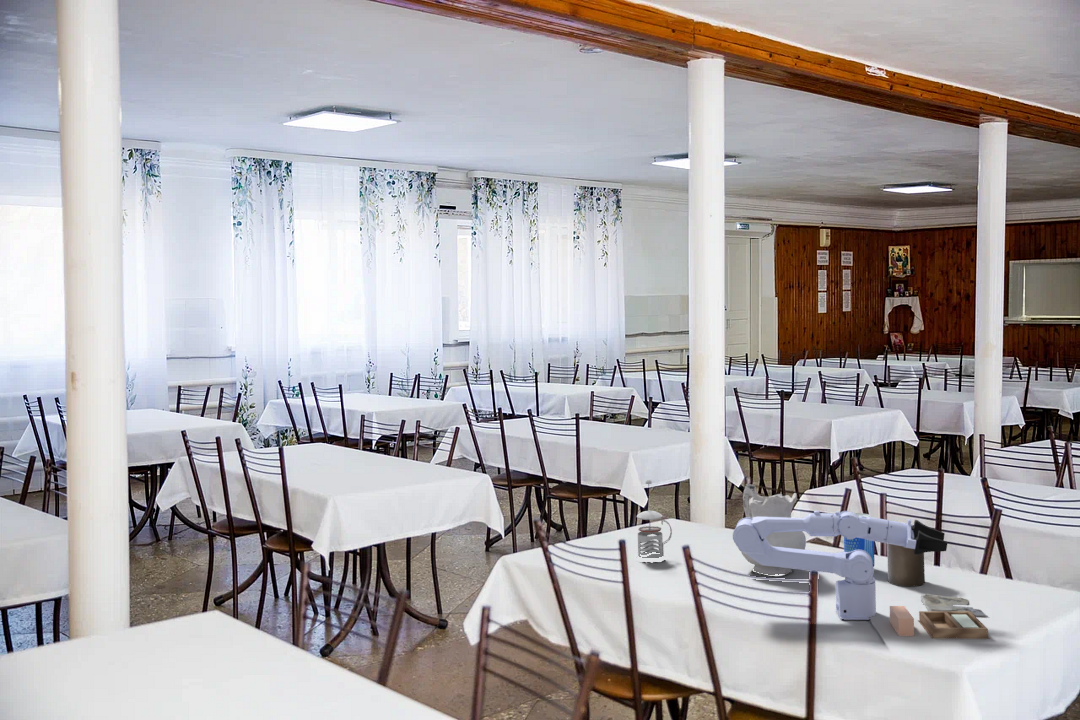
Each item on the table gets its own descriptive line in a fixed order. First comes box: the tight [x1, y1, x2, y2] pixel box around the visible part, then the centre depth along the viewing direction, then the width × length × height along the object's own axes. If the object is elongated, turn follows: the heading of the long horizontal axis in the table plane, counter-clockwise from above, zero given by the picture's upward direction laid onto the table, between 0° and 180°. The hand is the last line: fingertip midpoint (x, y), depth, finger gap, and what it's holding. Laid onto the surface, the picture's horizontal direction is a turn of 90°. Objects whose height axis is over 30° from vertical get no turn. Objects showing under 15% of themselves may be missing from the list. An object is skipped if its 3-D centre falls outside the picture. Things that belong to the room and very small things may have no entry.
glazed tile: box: [951, 614, 979, 628], centre depth 240 cm, size 3×10×2 cm, turn 173°
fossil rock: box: [920, 593, 989, 618], centre depth 259 cm, size 18×15×2 cm
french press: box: [636, 479, 673, 558], centre depth 320 cm, size 10×12×25 cm
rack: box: [917, 610, 991, 640], centre depth 240 cm, size 13×14×3 cm
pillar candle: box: [886, 543, 926, 587], centre depth 285 cm, size 10×10×15 cm
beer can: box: [843, 512, 875, 568], centre depth 300 cm, size 8×8×16 cm
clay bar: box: [889, 605, 915, 637], centre depth 242 cm, size 3×10×5 cm, turn 172°
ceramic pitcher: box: [740, 483, 807, 575], centre depth 302 cm, size 22×20×25 cm
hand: (945, 542), depth 249 cm, fingers open, 7 cm apart
